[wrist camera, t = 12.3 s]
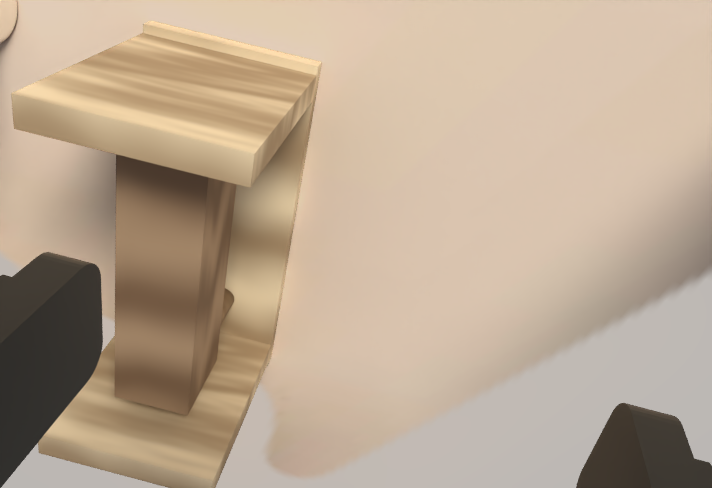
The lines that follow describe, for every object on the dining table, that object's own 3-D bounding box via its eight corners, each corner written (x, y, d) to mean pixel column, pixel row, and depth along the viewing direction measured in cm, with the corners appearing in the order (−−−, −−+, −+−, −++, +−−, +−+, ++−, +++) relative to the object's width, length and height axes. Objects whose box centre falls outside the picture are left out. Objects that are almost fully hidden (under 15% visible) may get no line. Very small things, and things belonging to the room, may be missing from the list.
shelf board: (161, 108, 34) (116, 141, 29) (242, 128, 33) (209, 164, 29) (151, 343, 42) (114, 396, 37) (216, 360, 42) (187, 415, 37)
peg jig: (150, 20, 37) (10, 80, 25) (321, 62, 36) (255, 141, 25) (140, 323, 48) (39, 458, 36) (271, 357, 47) (209, 504, 36)
